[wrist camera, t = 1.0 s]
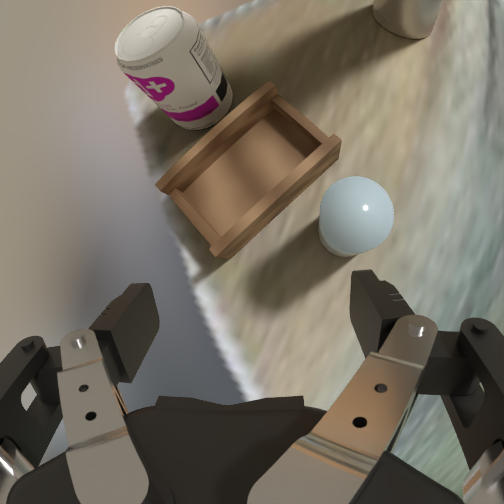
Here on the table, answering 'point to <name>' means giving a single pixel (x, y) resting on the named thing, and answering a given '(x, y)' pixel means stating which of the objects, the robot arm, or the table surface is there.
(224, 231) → the wooden serving tray
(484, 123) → the table surface
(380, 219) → the domed pale cylinder
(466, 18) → the table surface
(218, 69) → the supplement can
